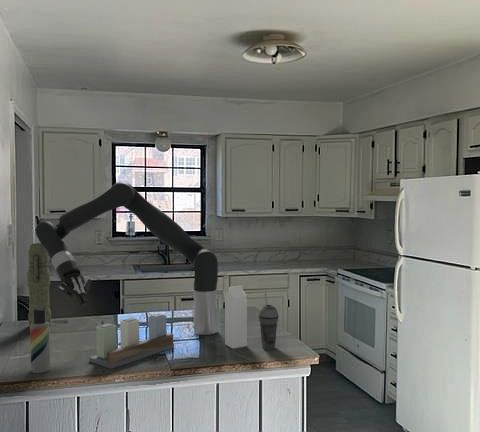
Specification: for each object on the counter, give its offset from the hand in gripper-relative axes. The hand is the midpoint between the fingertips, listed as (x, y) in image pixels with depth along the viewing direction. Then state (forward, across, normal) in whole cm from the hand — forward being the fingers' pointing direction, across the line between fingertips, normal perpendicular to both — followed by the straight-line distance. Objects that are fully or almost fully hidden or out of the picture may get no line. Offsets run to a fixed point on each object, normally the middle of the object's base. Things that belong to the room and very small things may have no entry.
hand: (85, 303), depth 180 cm
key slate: (+23, +18, -2) cm, 29 cm away
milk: (+38, +39, -15) cm, 56 cm away
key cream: (+21, +8, 0) cm, 22 cm away
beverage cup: (+46, +44, -23) cm, 68 cm away
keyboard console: (+23, +8, 0) cm, 25 cm away
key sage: (+21, -2, 0) cm, 21 cm away
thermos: (-19, +8, +44) cm, 48 cm away
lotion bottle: (+16, -20, +8) cm, 27 cm away
